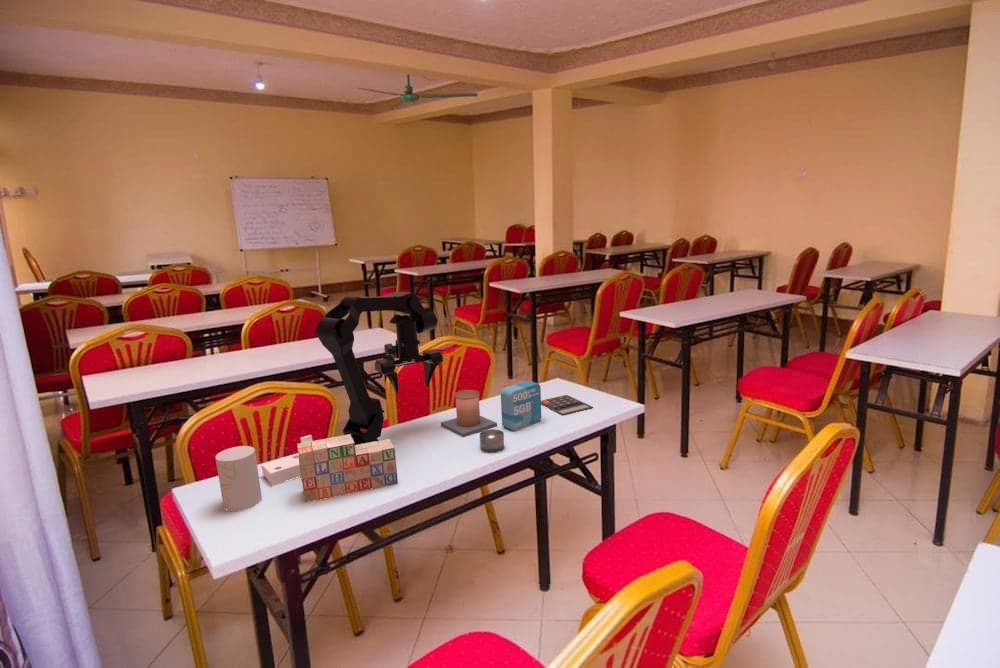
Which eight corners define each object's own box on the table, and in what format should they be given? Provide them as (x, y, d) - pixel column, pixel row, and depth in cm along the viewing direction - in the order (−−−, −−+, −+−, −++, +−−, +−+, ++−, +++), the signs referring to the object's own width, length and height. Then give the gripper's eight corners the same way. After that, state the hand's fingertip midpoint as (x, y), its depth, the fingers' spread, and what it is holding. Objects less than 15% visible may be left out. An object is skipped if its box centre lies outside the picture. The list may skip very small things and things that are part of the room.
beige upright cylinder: (218, 503, 135) (210, 454, 133) (253, 490, 141) (246, 443, 138) (231, 515, 130) (223, 464, 127) (267, 501, 135) (260, 452, 133)
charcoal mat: (463, 437, 167) (463, 433, 167) (440, 425, 176) (440, 422, 176) (497, 426, 174) (496, 422, 174) (473, 415, 183) (473, 412, 183)
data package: (512, 432, 169) (510, 392, 166) (501, 428, 172) (500, 388, 170) (541, 420, 177) (540, 382, 174) (531, 417, 180) (530, 379, 177)
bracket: (313, 461, 156) (310, 434, 154) (324, 470, 151) (320, 442, 149) (263, 477, 148) (259, 449, 147) (272, 487, 143) (268, 457, 141)
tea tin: (488, 454, 154) (487, 440, 154) (475, 447, 160) (475, 433, 159) (508, 448, 158) (508, 434, 157) (496, 441, 163) (495, 427, 162)
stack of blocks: (393, 473, 147) (388, 426, 144) (398, 484, 141) (394, 435, 138) (302, 491, 139) (296, 442, 137) (304, 503, 134) (297, 452, 131)
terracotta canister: (473, 428, 170) (472, 398, 168) (452, 425, 173) (450, 395, 171) (484, 420, 177) (483, 391, 175) (463, 417, 179) (462, 388, 178)
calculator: (566, 394, 198) (593, 406, 185) (566, 396, 198) (593, 409, 185) (536, 400, 193) (562, 414, 180) (536, 403, 193) (562, 417, 180)
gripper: (425, 327, 177) (429, 377, 180) (365, 337, 167) (370, 390, 171) (442, 333, 167) (446, 385, 171) (379, 344, 158) (385, 400, 161)
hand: (411, 390), depth 169 cm, fingers open, 9 cm apart
